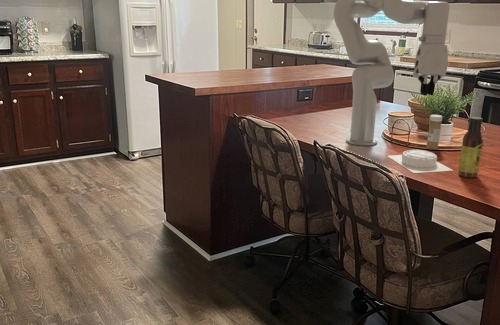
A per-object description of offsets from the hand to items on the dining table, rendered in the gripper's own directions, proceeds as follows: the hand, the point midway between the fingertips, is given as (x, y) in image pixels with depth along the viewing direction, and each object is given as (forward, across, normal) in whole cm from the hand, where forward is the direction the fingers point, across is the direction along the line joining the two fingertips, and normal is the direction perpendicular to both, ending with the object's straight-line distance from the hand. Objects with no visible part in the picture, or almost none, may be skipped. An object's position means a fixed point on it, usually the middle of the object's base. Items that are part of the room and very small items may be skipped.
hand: (426, 94), depth 169 cm
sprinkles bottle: (+25, +15, +16) cm, 34 cm away
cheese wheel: (+25, 0, 0) cm, 25 cm away
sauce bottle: (+25, +9, -15) cm, 31 cm away
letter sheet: (+25, 0, 0) cm, 25 cm away
